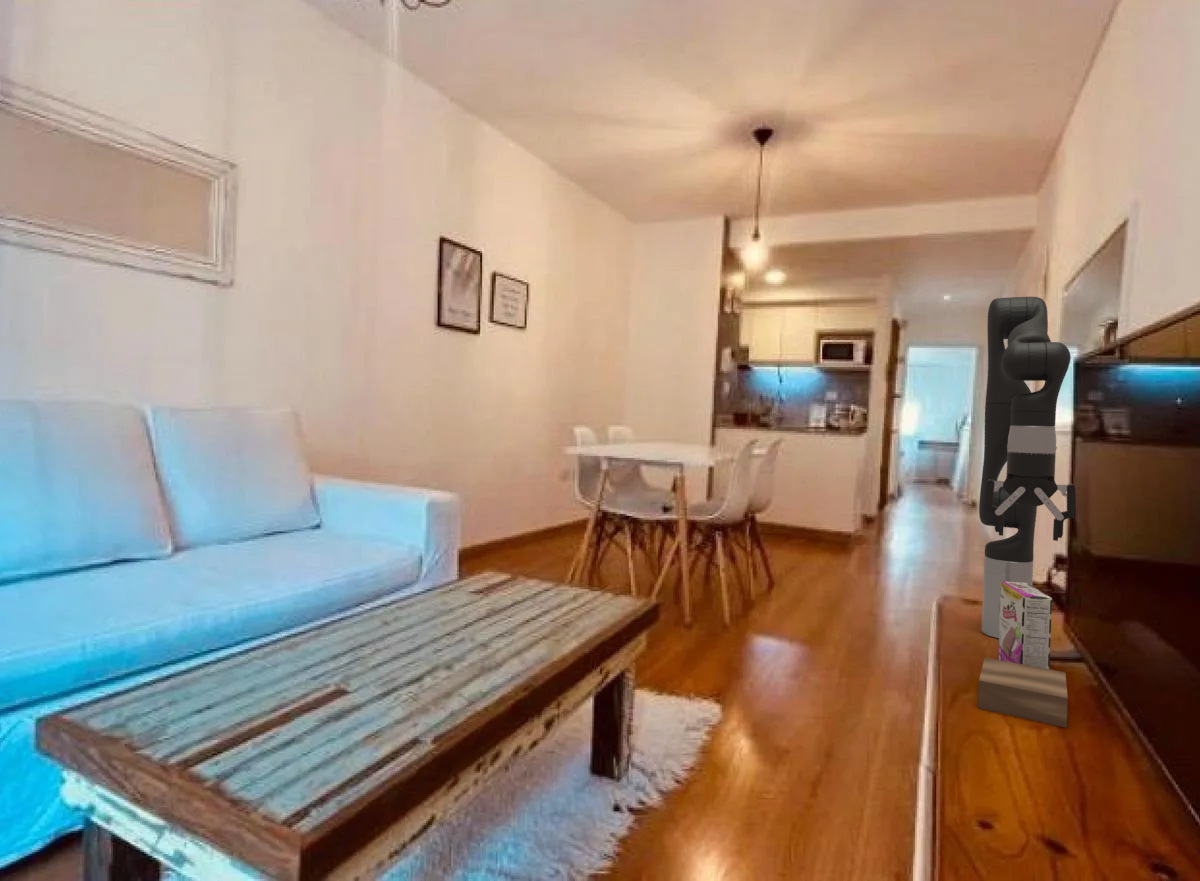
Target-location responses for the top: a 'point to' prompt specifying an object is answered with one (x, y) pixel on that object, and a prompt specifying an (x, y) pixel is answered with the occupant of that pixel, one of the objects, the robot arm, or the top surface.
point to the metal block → (1023, 691)
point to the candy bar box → (1024, 625)
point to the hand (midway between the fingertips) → (1027, 537)
